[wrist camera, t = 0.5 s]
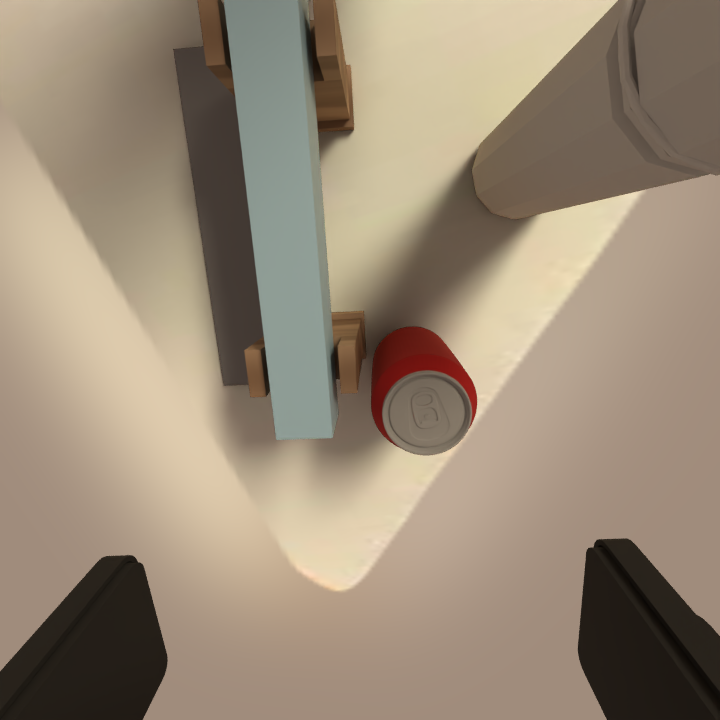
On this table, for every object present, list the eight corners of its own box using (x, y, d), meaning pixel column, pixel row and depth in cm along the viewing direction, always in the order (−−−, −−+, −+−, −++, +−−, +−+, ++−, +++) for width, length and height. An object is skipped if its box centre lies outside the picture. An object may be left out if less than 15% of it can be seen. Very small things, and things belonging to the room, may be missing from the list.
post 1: (255, 77, 30) (190, -17, 20) (350, 69, 30) (336, -31, 19) (261, 136, 31) (203, 77, 21) (354, 129, 31) (342, 65, 20)
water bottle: (529, 240, 33) (964, 210, 8) (447, 189, 32) (667, -6, 8) (603, 130, 30) (1480, -340, 6) (516, 71, 30) (1132, -722, 5)
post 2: (281, 315, 35) (239, 342, 24) (363, 311, 35) (357, 337, 24) (285, 359, 36) (247, 404, 25) (366, 356, 36) (361, 400, 25)
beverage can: (382, 405, 37) (384, 475, 25) (364, 334, 35) (358, 375, 24) (455, 388, 36) (493, 453, 25) (440, 316, 34) (473, 348, 23)
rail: (241, -29, 22) (213, -88, 18) (305, -35, 22) (290, -96, 18) (289, 414, 29) (276, 439, 25) (338, 412, 29) (332, 438, 25)
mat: (177, 53, 30) (173, 49, 30) (250, 46, 30) (248, 42, 29) (226, 383, 37) (223, 385, 36) (286, 380, 37) (285, 383, 36)
